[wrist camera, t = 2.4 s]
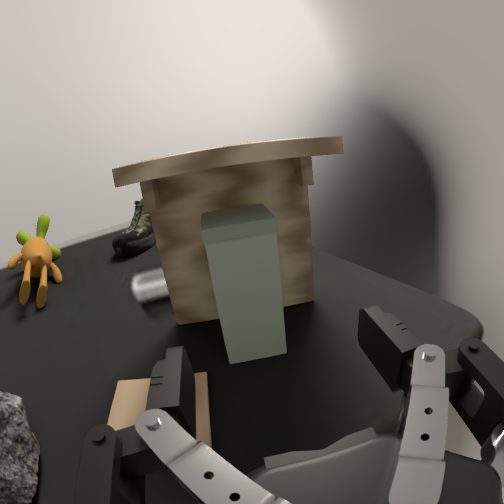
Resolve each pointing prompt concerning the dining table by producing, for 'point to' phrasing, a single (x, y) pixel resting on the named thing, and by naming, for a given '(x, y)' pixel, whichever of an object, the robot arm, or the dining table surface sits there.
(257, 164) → the shelf
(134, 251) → the hiking shoe
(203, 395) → the mat
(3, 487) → the rock
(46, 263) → the toy
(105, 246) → the dining table surface
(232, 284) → the tin
